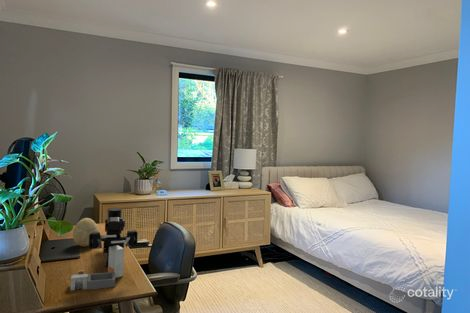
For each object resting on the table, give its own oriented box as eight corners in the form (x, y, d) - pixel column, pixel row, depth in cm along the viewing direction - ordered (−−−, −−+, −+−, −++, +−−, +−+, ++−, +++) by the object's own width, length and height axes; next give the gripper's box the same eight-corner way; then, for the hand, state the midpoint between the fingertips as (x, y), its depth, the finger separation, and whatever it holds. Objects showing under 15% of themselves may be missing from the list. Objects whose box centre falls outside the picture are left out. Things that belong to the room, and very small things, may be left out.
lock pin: (78, 277, 141) (78, 270, 140) (83, 277, 141) (83, 270, 141) (76, 288, 130) (76, 281, 130) (81, 288, 131) (82, 280, 131)
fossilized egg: (103, 244, 186) (104, 216, 185) (87, 251, 173) (88, 221, 173) (83, 241, 189) (84, 214, 188) (66, 247, 177) (67, 219, 176)
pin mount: (71, 284, 134) (72, 273, 134) (87, 282, 136) (88, 272, 136) (70, 290, 129) (70, 279, 128) (87, 289, 131) (87, 278, 130)
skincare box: (107, 274, 146) (108, 246, 145) (117, 271, 149) (118, 244, 148) (113, 278, 141) (115, 250, 141) (123, 276, 144) (124, 248, 144)
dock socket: (88, 281, 138) (88, 273, 138) (114, 278, 141) (114, 271, 141) (87, 289, 130) (87, 281, 130) (114, 286, 134) (115, 279, 134)
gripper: (90, 216, 143) (87, 226, 129) (136, 214, 149) (139, 224, 135) (90, 242, 144) (87, 255, 129) (136, 239, 150) (138, 252, 136)
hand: (113, 246), depth 132 cm, fingers open, 9 cm apart
